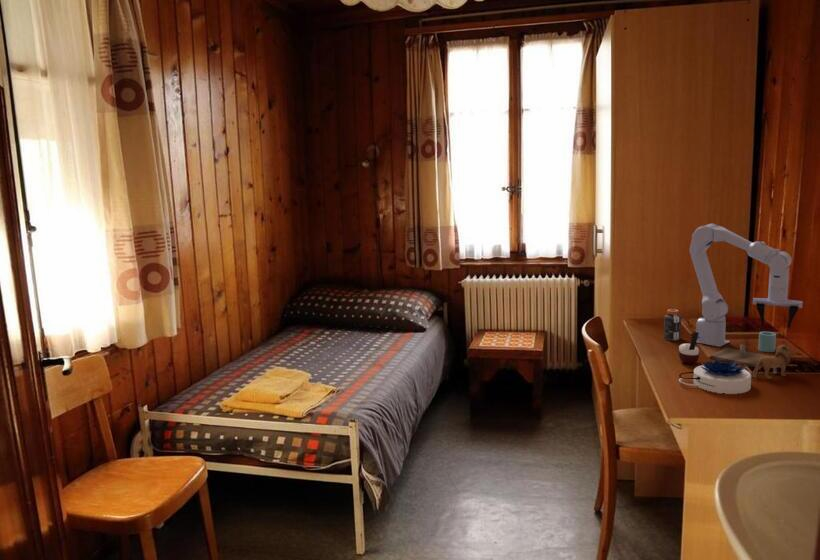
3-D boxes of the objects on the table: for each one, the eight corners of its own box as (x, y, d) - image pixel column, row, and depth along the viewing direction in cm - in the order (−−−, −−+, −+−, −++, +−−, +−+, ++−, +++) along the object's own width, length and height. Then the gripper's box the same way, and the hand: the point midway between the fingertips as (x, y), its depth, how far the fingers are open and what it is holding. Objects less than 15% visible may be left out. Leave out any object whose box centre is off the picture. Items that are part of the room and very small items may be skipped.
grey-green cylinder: (756, 350, 215) (756, 333, 214) (762, 346, 218) (762, 330, 217) (771, 353, 212) (772, 336, 210) (777, 349, 215) (778, 333, 214)
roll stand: (710, 358, 210) (710, 344, 209) (726, 350, 217) (726, 336, 216) (759, 368, 198) (760, 353, 197) (774, 359, 205) (775, 345, 204)
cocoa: (679, 357, 212) (680, 324, 210) (699, 359, 209) (700, 325, 207) (677, 366, 204) (678, 331, 202) (698, 368, 201) (699, 332, 199)
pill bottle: (682, 340, 231) (683, 311, 229) (665, 340, 232) (666, 311, 230) (678, 336, 237) (679, 308, 235) (662, 336, 238) (663, 308, 236)
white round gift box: (741, 355, 191) (673, 355, 195) (759, 372, 176) (685, 372, 180) (740, 376, 192) (673, 376, 196) (758, 395, 177) (685, 394, 181)
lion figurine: (777, 369, 196) (779, 342, 195) (794, 373, 191) (796, 346, 190) (747, 378, 190) (749, 350, 188) (764, 383, 185) (765, 354, 184)
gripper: (753, 288, 209) (750, 326, 211) (803, 291, 201) (800, 331, 203) (754, 284, 214) (752, 321, 217) (803, 287, 207) (800, 325, 209)
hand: (775, 326), depth 211 cm, fingers open, 7 cm apart
